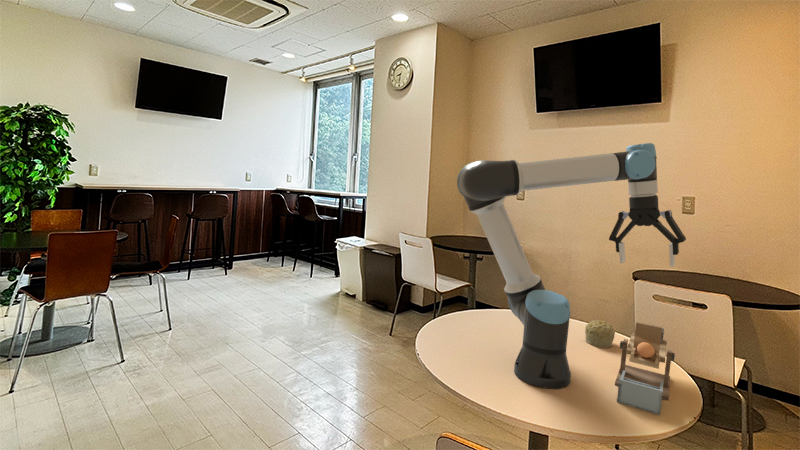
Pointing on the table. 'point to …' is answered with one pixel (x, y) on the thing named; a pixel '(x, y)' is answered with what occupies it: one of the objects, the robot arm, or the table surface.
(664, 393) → the catapult stand
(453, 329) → the table surface
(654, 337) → the lever
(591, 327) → the decorative item
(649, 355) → the ball
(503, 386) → the table surface
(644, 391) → the blue open box
